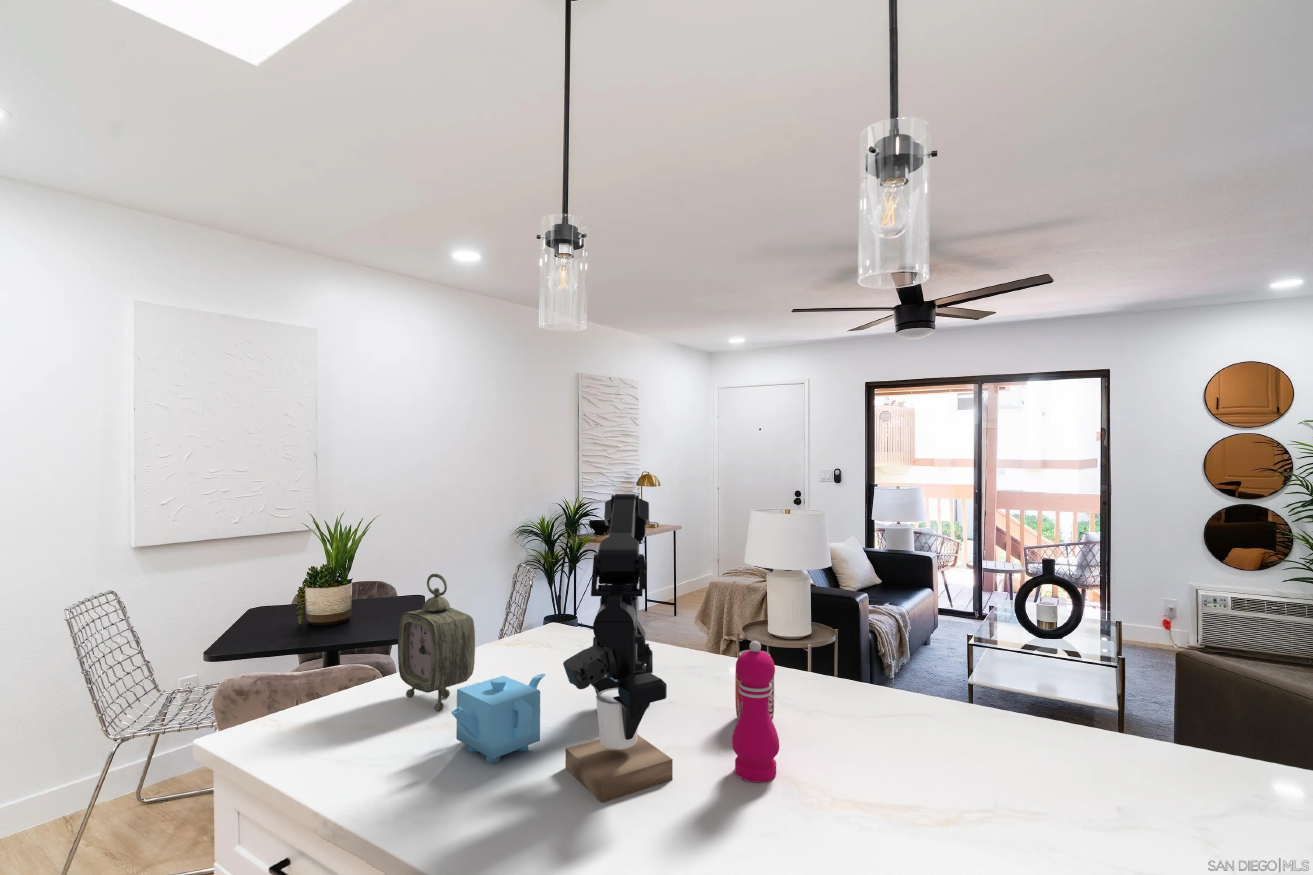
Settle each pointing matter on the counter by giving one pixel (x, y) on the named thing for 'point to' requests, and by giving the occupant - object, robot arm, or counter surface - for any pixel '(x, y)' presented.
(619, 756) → the walnut base block
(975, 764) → the counter surface
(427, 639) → the tabletop clock
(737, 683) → the soda can
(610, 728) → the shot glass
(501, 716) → the teapot
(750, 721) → the pepper mill
